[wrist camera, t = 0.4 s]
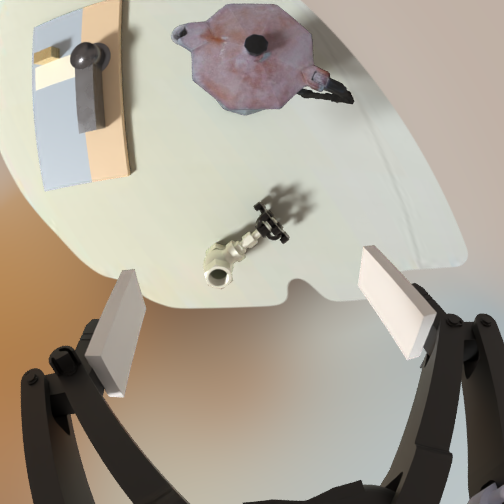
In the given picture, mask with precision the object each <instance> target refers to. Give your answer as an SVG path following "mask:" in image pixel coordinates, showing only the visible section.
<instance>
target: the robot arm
mask: <svg viewBox="0 0 504 504" xmlns="http://www.w3.org/2000/svg"><path fill="white" fill-rule="evenodd" d="M358 287H359V288H360V290H361V291H362V292H363V294H364V295H365V297H366V298H367V300H368V301H369V303H370V304H371V305H372V307H373V308H374V310H375V311H376V313H377V314H378V316H379V317H380V319H381V320H382V322H383V323H384V325H385V326H386V328H387V330H388V331H389V333H390V334H391V335H392V337H393V339H394V340H395V342H396V343H397V345H398V347H399V348H400V350H401V351H402V353H403V354H404V356H405V358H406V359H407V360H410V359H413V358H416V357H419V356H420V354H421V351H422V349H423V348H424V349H425V350H426V352H427V354H426V356H425V358H424V361H423V362H422V365H421V367H420V368H422V367H423V368H422V372H421V376H420V380H419V384H418V388H417V392H416V395H415V399H414V402H413V406H412V409H411V412H410V416H409V419H408V422H407V425H406V428H405V431H404V434H403V436H402V440H401V442H400V445H399V448H398V450H397V453H396V455H395V458H394V460H393V463H392V465H391V468H390V470H389V472H388V474H387V475H386V477H385V478H384V480H383V482H382V483H381V485H380V486H376V485H363V484H362V481H361V480H359V481H356V482H353V483H349V484H345V485H342V486H338V487H335V488H332V489H330V490H328V491H326V492H324V493H322V494H320V495H318V496H316V497H313V498H311V499H309V500H306V501H289V500H266V501H257V502H246V503H243V504H439V503H440V500H441V497H442V494H443V491H444V488H445V485H446V481H447V478H448V474H449V471H450V467H451V464H452V458H453V455H452V453H450V452H449V447H450V443H451V439H452V434H453V429H454V424H455V419H456V413H457V406H458V401H459V393H460V385H461V382H462V388H463V395H464V404H465V414H466V425H467V442H468V490H469V498H470V500H469V502H468V503H467V504H504V342H503V339H502V337H501V334H500V332H499V329H498V326H497V324H496V321H495V320H494V319H493V318H492V317H491V316H489V315H487V314H478V315H477V316H476V318H475V321H474V322H463V320H462V319H461V318H460V317H458V316H457V315H454V314H446V313H445V312H444V310H443V309H442V308H441V307H440V306H439V305H438V304H437V303H436V301H435V300H433V299H432V297H431V296H430V295H428V293H427V292H426V291H425V289H424V288H423V287H421V286H419V285H418V284H416V283H413V284H411V283H410V282H409V281H408V280H407V279H406V278H405V277H404V276H403V274H402V273H401V272H400V271H399V270H398V269H397V268H396V267H395V266H394V265H393V264H392V263H391V262H390V261H389V260H388V259H387V258H386V257H385V256H384V255H383V254H382V253H381V252H380V250H379V249H378V248H377V247H376V246H375V245H373V246H363V252H362V260H361V267H360V274H359V281H358ZM145 311H146V306H145V303H144V300H143V297H142V293H141V290H140V287H139V283H138V280H137V276H136V272H135V269H132V270H122V272H121V274H120V276H119V278H118V280H117V282H116V285H115V287H114V289H113V291H112V293H111V295H110V298H109V299H108V302H107V304H106V306H105V308H104V311H103V313H102V315H101V317H100V319H92V320H91V321H90V322H89V323H88V324H87V325H86V327H85V329H84V331H83V335H82V336H81V338H80V341H79V343H78V345H77V347H76V350H74V349H73V348H72V347H70V346H62V347H59V348H57V349H56V350H54V351H53V352H52V354H51V355H50V357H49V364H50V365H51V367H52V368H53V370H54V371H55V373H53V374H48V375H44V373H43V372H42V371H41V370H40V369H37V368H35V369H31V370H29V371H27V372H26V373H25V374H24V375H23V377H22V380H21V417H22V431H23V442H24V452H25V460H26V467H27V473H28V479H29V484H30V489H31V494H32V499H33V503H34V504H95V502H94V499H93V496H92V493H91V491H90V488H89V485H88V482H87V478H86V475H85V472H84V469H83V465H82V462H81V458H80V455H79V450H78V447H77V443H76V438H75V434H74V430H73V425H72V420H71V415H70V414H76V416H77V417H78V419H79V421H80V423H81V425H82V427H83V429H84V431H85V432H86V434H87V436H88V438H89V439H90V441H91V443H92V444H93V446H94V448H95V449H96V451H97V452H98V454H99V456H100V457H101V459H102V461H103V462H104V464H105V465H106V467H107V468H108V470H109V471H110V473H111V474H112V475H113V477H114V478H115V480H116V481H117V482H118V484H119V485H120V487H121V488H122V489H123V491H124V492H125V493H126V494H127V496H128V497H129V499H130V500H131V501H132V502H133V504H190V503H189V502H188V501H187V500H186V499H185V498H184V497H183V496H182V495H181V494H180V493H179V492H178V491H177V490H176V489H175V488H174V487H173V486H172V485H171V484H170V483H169V482H168V480H167V479H165V477H164V476H163V475H162V474H161V473H160V472H159V470H158V469H157V468H156V467H155V466H154V465H153V464H152V462H151V461H150V460H149V459H148V458H147V457H146V455H145V454H144V453H143V451H142V450H141V449H140V448H139V446H138V445H137V444H136V443H135V442H134V440H133V439H132V437H131V436H130V435H129V433H128V432H127V431H126V430H125V428H124V427H123V425H122V424H121V423H120V421H119V420H118V418H117V417H116V416H115V414H114V413H113V411H112V410H111V408H110V407H109V405H108V404H107V402H106V401H105V399H104V398H103V393H104V389H105V391H106V392H107V394H108V395H109V397H124V395H125V391H126V386H127V381H128V377H129V373H130V369H131V364H132V360H133V356H134V352H135V348H136V344H137V340H138V336H139V332H140V329H141V325H142V321H143V318H144V314H145Z"/></svg>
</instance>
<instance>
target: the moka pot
mask: <svg viewBox="0 0 504 504" xmlns="http://www.w3.org/2000/svg"><path fill="white" fill-rule="evenodd" d="M171 39H172V41H173V42H174V43H176V44H178V45H180V46H182V47H184V48H186V49H187V50H189V51H190V52H191V56H192V79H193V81H194V82H195V83H197V84H198V85H199V86H200V87H202V88H203V89H204V90H205V91H206V92H208V93H209V94H210V95H211V96H213V97H214V98H215V99H216V100H217V101H218V103H219V104H220V105H221V106H222V108H223V109H225V110H227V111H231V112H234V113H238V114H241V115H249V114H253V113H256V112H259V111H262V110H265V109H281V108H282V107H283V106H284V105H285V104H286V103H287V102H288V101H289V100H290V99H291V98H292V97H293V96H294V95H295V94H298V95H301V96H302V97H303V98H315V99H324V100H331V101H332V102H333V101H334V102H336V103H338V102H343V103H347V104H353V103H354V100H353V97H352V95H351V92H350V91H347V89H346V87H345V86H344V85H343V84H342V83H340V82H338V81H336V80H334V79H331V78H330V73H329V72H327V71H325V70H323V69H321V68H319V67H317V66H315V65H314V61H313V41H312V34H311V33H310V32H308V31H307V30H306V29H305V28H304V27H303V26H302V25H301V24H299V23H298V22H297V21H296V20H295V19H294V18H293V17H291V16H290V15H289V14H288V13H287V12H285V11H284V10H283V9H281V8H280V7H279V6H278V5H275V4H227V5H225V6H224V7H223V8H221V9H220V10H219V11H217V12H216V13H215V14H214V15H213V16H212V17H211V18H209V19H208V20H207V21H205V22H193V23H187V24H183V25H179V26H177V27H176V28H175V29H174V30H173V32H172V35H171ZM305 86H309V87H311V88H312V89H314V90H317V91H319V92H322V91H323V90H325V91H328V92H331V93H332V94H329V93H325V94H320V93H315V92H314V93H313V92H312V90H306V89H303V87H305Z"/></svg>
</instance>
